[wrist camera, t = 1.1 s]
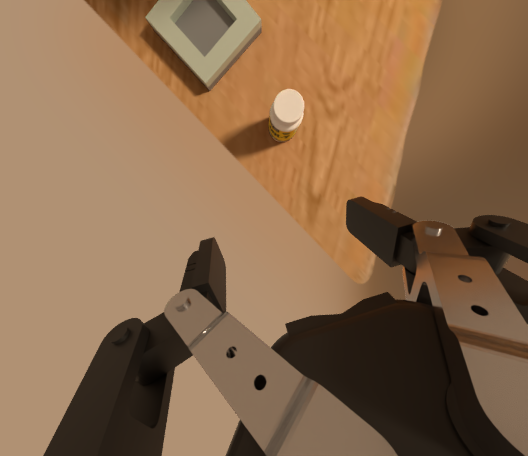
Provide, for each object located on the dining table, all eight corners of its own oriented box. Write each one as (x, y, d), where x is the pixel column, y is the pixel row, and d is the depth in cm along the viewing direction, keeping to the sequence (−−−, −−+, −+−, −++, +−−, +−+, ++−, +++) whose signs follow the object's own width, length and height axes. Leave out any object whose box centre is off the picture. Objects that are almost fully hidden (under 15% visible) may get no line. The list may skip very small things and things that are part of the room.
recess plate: (154, 30, 30) (145, 17, 27) (205, -36, 28) (200, -55, 26) (209, 91, 31) (205, 83, 29) (261, 32, 30) (261, 19, 27)
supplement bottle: (263, 134, 32) (263, 114, 24) (276, 107, 32) (280, 77, 23) (288, 147, 33) (296, 132, 24) (301, 121, 32) (314, 96, 24)
